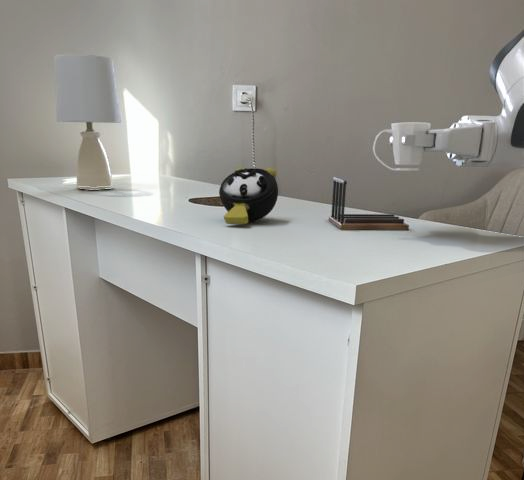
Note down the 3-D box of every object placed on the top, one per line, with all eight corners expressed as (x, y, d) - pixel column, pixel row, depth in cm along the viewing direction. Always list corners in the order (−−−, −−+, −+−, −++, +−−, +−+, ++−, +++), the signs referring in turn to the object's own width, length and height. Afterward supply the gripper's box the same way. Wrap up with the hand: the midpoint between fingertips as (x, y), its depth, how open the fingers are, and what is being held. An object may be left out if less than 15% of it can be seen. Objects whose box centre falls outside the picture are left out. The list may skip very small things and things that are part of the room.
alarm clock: (210, 239, 120) (200, 171, 120) (270, 236, 126) (260, 172, 126) (231, 222, 109) (219, 148, 109) (295, 220, 115) (284, 150, 116)
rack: (390, 220, 124) (395, 177, 120) (408, 230, 112) (414, 182, 109) (328, 220, 122) (331, 176, 119) (340, 229, 111) (344, 181, 108)
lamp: (128, 186, 185) (119, 62, 171) (122, 192, 168) (112, 55, 154) (70, 186, 183) (57, 60, 169) (58, 192, 166) (42, 52, 152)
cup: (430, 170, 99) (434, 122, 97) (373, 170, 100) (376, 122, 98) (423, 170, 106) (427, 124, 103) (370, 169, 107) (373, 124, 104)
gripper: (449, 124, 111) (382, 123, 109) (499, 120, 91) (418, 119, 90) (445, 158, 113) (379, 157, 112) (493, 161, 94) (414, 160, 92)
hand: (397, 140), depth 101 cm, fingers closed on cup, 6 cm apart
